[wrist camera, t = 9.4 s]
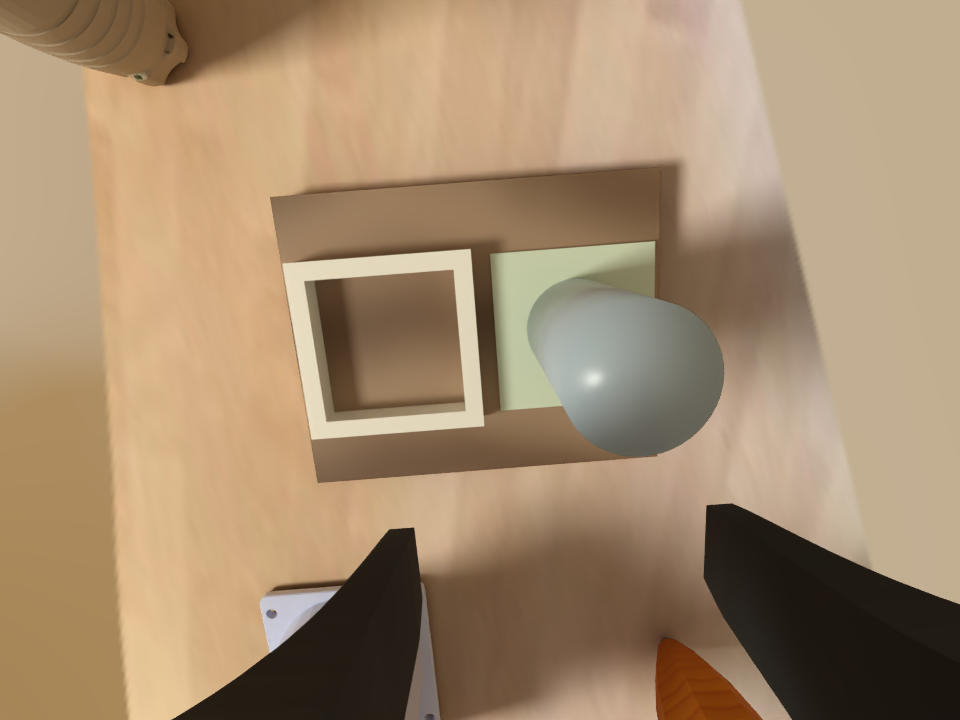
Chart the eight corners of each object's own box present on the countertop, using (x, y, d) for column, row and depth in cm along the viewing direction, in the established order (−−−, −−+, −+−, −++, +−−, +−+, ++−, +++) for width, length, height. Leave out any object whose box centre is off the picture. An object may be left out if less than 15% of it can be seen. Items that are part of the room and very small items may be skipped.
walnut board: (647, 445, 22) (657, 456, 21) (325, 470, 22) (317, 482, 21) (648, 171, 20) (660, 167, 18) (281, 200, 20) (269, 197, 18)
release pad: (651, 397, 21) (653, 398, 20) (500, 409, 21) (501, 410, 20) (653, 241, 19) (655, 241, 19) (490, 253, 19) (490, 253, 19)
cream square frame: (483, 416, 21) (484, 426, 19) (320, 428, 21) (311, 439, 19) (470, 249, 19) (470, 249, 18) (293, 262, 19) (282, 263, 18)
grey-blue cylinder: (625, 371, 20) (721, 450, 12) (529, 379, 20) (564, 463, 12) (624, 274, 19) (727, 293, 11) (524, 282, 19) (557, 306, 11)
